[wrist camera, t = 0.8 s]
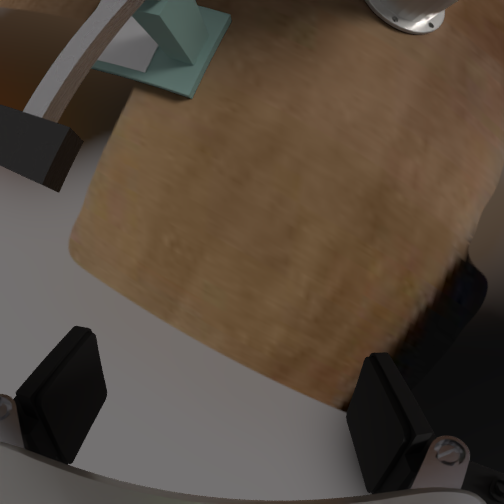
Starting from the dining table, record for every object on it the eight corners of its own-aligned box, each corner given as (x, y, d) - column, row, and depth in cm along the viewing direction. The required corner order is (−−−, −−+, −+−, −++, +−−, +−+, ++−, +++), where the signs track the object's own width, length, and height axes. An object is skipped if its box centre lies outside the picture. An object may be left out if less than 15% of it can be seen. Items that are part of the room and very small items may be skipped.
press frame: (114, -5, 29) (58, -61, 13) (231, 21, 31) (218, -54, 15) (77, 65, 32) (0, 34, 16) (192, 98, 33) (149, 59, 18)
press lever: (126, -24, 16) (121, -50, 13) (196, -12, 16) (196, -42, 13) (-5, 163, 14) (-32, 149, 11) (62, 194, 15) (37, 181, 12)
